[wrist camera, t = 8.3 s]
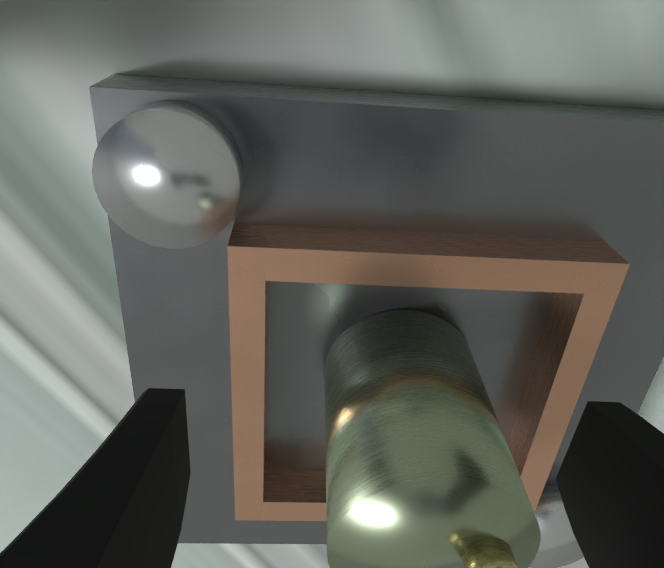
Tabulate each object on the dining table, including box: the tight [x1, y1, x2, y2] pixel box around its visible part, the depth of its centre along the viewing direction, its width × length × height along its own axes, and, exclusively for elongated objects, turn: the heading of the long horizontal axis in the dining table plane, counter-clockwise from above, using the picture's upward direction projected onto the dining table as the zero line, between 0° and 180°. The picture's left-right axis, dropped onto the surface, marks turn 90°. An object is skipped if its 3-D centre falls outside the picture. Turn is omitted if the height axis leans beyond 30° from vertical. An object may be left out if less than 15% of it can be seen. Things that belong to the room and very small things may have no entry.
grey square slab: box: [89, 74, 664, 568], centre depth 19 cm, size 18×18×4 cm
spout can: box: [324, 310, 541, 568], centre depth 15 cm, size 5×5×8 cm
